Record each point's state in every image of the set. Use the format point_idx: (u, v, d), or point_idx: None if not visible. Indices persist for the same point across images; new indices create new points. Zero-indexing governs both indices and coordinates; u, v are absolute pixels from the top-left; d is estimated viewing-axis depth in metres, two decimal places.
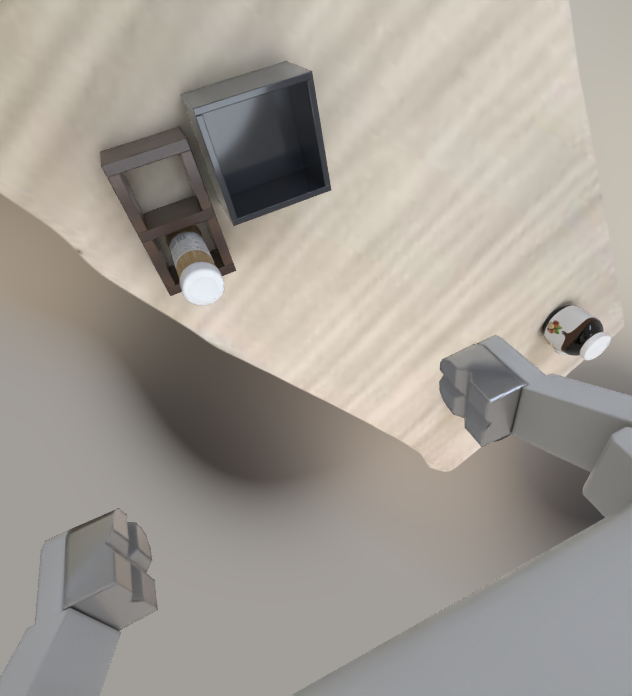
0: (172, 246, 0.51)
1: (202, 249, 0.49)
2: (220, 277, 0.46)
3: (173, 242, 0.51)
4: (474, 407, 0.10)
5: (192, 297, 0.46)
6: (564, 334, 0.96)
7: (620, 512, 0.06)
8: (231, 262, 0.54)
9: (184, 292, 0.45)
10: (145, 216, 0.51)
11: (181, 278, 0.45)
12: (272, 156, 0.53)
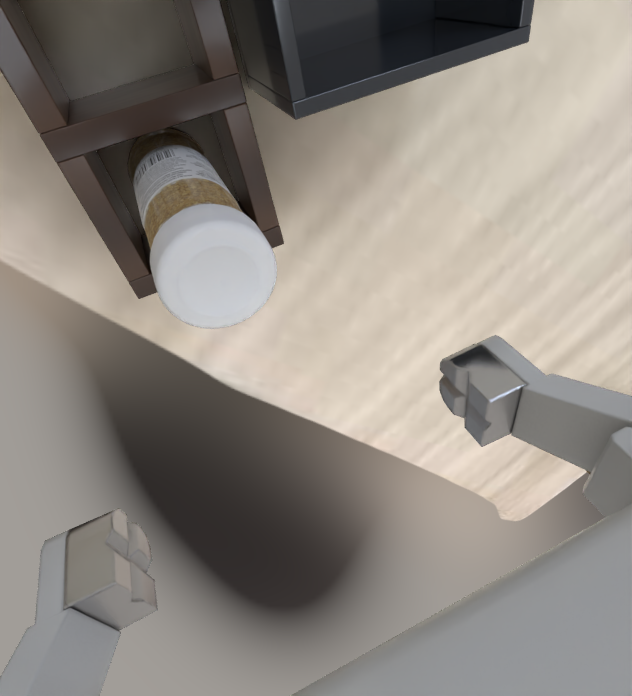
0: (138, 177, 0.20)
1: (213, 178, 0.19)
2: (268, 249, 0.16)
3: (141, 168, 0.21)
4: (474, 407, 0.10)
5: (187, 307, 0.16)
6: None
7: (620, 512, 0.06)
8: (275, 224, 0.24)
9: (163, 293, 0.15)
10: (73, 105, 0.21)
11: (154, 251, 0.15)
12: None
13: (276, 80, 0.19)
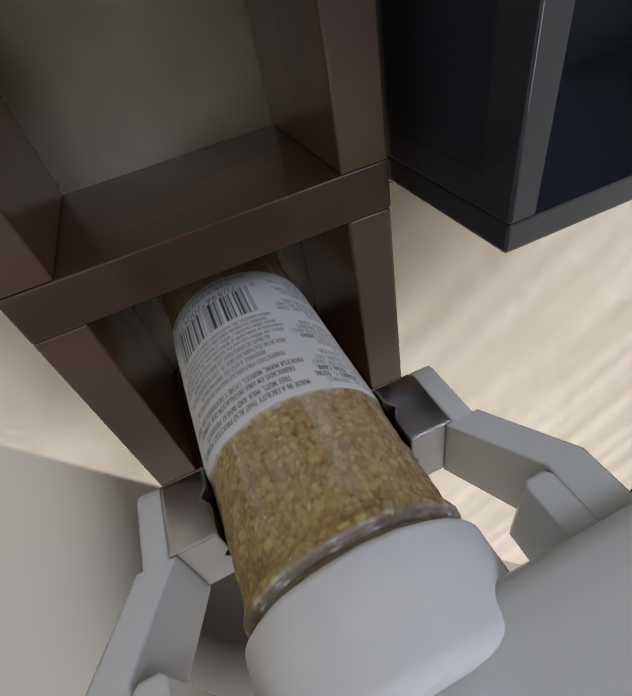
0: (186, 342, 0.11)
1: (345, 373, 0.09)
2: None
3: (191, 323, 0.11)
4: None
5: None
6: None
7: (620, 512, 0.06)
8: (396, 375, 0.15)
9: None
10: (67, 208, 0.11)
11: (269, 675, 0.06)
12: None
13: (462, 174, 0.10)
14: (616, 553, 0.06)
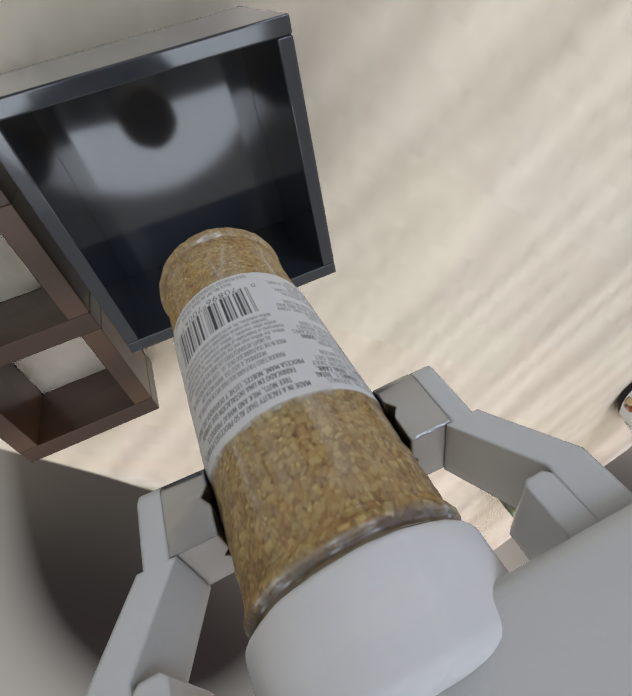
0: (187, 343, 0.11)
1: (346, 375, 0.09)
2: None
3: (191, 324, 0.11)
4: None
5: None
6: None
7: (620, 512, 0.06)
8: (147, 397, 0.29)
9: None
10: None
11: (270, 676, 0.06)
12: (221, 200, 0.27)
13: None
14: (616, 553, 0.06)
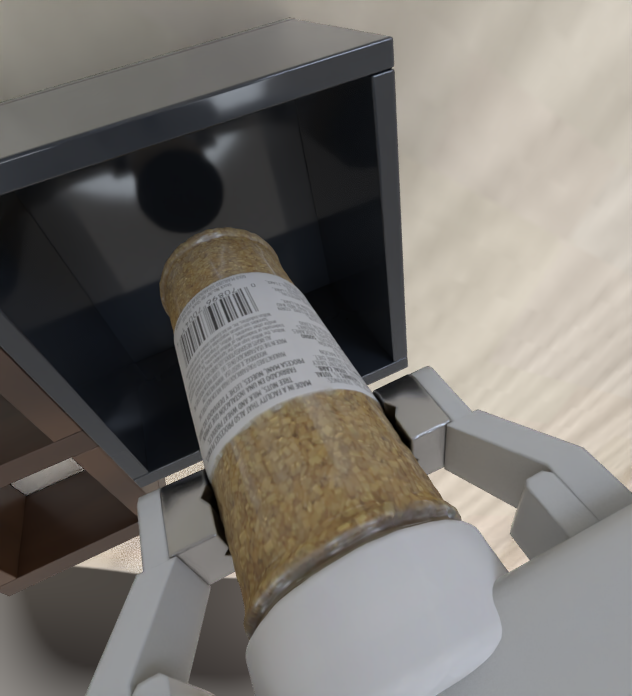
0: (187, 343, 0.11)
1: (346, 375, 0.09)
2: None
3: (192, 324, 0.11)
4: None
5: None
6: None
7: (620, 512, 0.06)
8: None
9: None
10: None
11: (270, 676, 0.06)
12: None
13: None
14: (616, 553, 0.06)
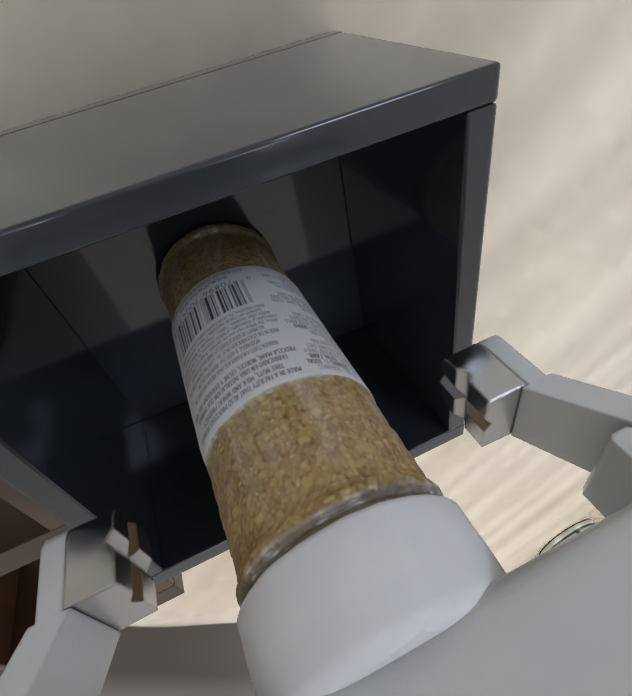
0: (184, 333, 0.12)
1: (336, 361, 0.10)
2: None
3: (189, 315, 0.12)
4: (474, 407, 0.10)
5: None
6: None
7: (620, 512, 0.06)
8: (169, 586, 0.20)
9: None
10: None
11: (259, 636, 0.06)
12: None
13: None
14: (616, 553, 0.06)
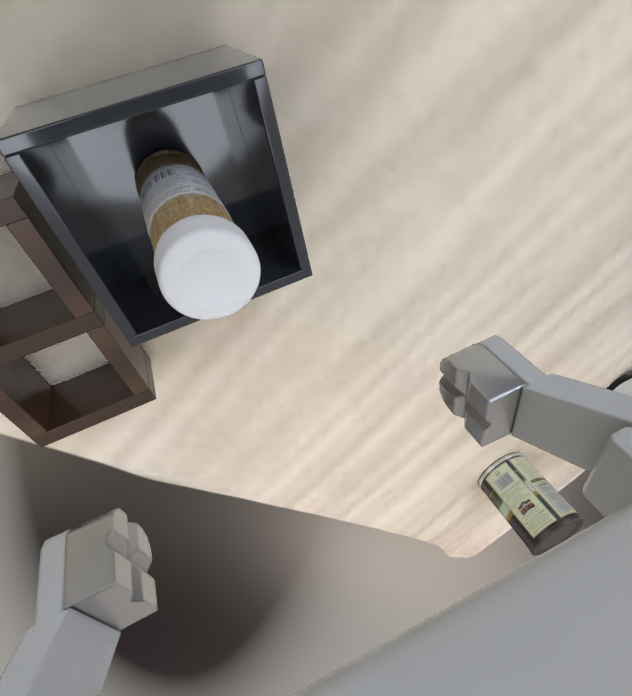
0: (144, 192, 0.24)
1: (208, 193, 0.22)
2: (252, 252, 0.19)
3: (147, 184, 0.24)
4: (474, 407, 0.10)
5: (184, 301, 0.19)
6: None
7: (620, 512, 0.06)
8: (145, 388, 0.32)
9: (164, 288, 0.18)
10: None
11: (157, 254, 0.18)
12: None
13: None
14: (616, 553, 0.06)
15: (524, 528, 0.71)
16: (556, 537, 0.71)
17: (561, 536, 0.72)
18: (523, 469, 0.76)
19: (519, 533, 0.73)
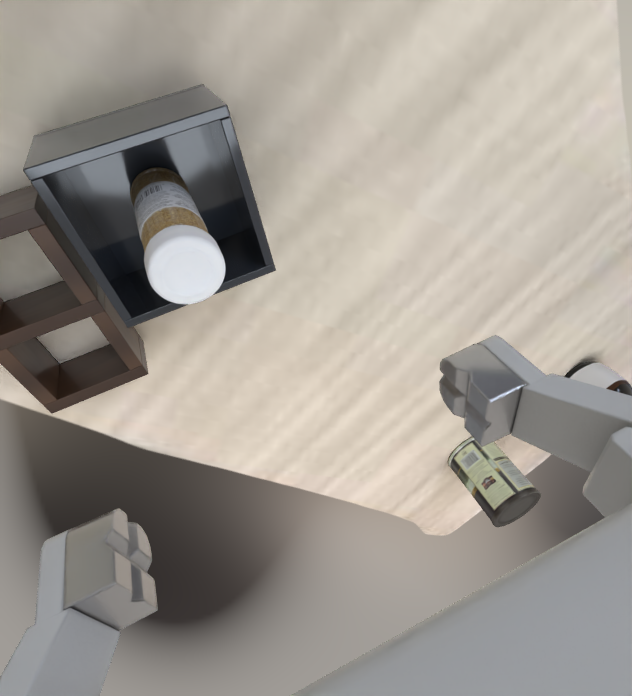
0: (137, 204, 0.30)
1: (187, 206, 0.28)
2: (218, 253, 0.25)
3: (139, 198, 0.30)
4: (474, 407, 0.10)
5: (167, 289, 0.25)
6: None
7: (620, 512, 0.06)
8: (139, 365, 0.38)
9: (152, 280, 0.25)
10: (4, 308, 0.35)
11: (146, 254, 0.25)
12: None
13: None
14: (616, 553, 0.06)
15: (487, 501, 0.78)
16: (515, 510, 0.78)
17: (520, 509, 0.79)
18: (487, 448, 0.82)
19: (482, 506, 0.80)
